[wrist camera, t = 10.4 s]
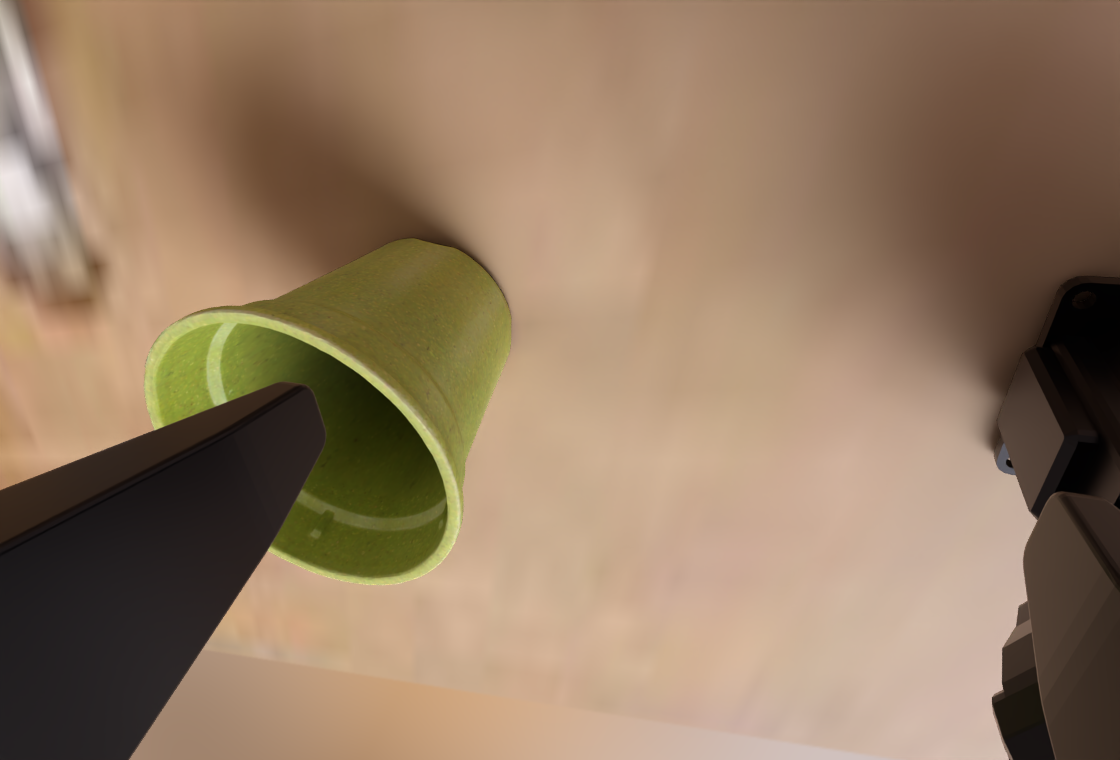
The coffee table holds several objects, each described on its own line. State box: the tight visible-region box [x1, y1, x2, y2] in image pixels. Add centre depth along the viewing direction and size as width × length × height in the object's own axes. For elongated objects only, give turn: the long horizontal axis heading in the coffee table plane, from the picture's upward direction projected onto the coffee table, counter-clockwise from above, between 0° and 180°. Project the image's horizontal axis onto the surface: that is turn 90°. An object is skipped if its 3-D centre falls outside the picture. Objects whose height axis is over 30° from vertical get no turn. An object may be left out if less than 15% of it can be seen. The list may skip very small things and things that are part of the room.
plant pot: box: [144, 238, 511, 585], centre depth 21 cm, size 9×9×9 cm
